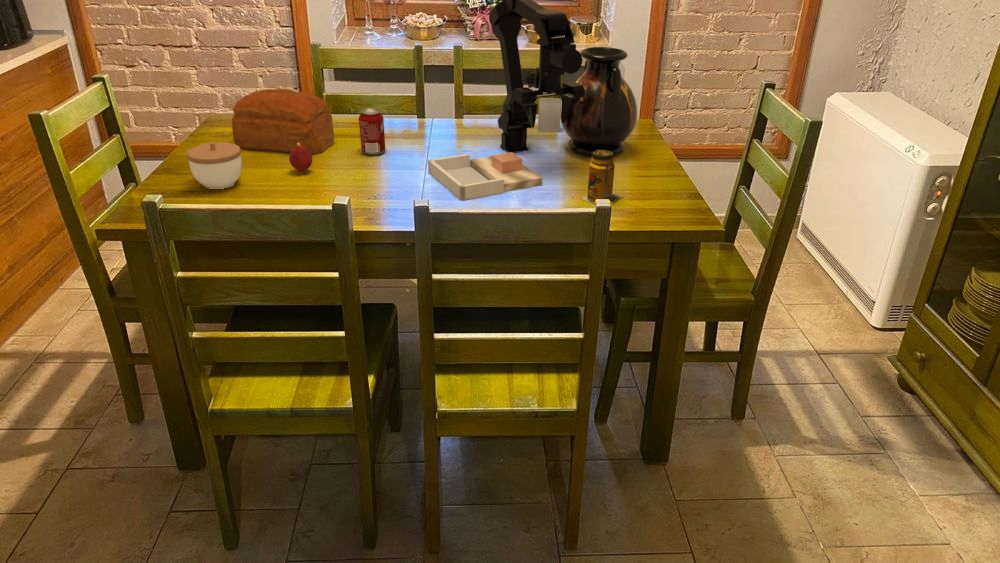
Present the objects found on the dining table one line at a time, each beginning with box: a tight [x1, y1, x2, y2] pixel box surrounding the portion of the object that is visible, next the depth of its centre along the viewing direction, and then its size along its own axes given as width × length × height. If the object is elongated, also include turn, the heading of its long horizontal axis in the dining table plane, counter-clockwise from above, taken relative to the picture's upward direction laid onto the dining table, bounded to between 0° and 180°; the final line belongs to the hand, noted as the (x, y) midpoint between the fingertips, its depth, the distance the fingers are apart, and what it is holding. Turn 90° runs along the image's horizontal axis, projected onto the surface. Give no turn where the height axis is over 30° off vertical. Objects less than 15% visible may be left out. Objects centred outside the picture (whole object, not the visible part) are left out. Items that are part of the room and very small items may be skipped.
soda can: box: [358, 107, 386, 156], centre depth 206 cm, size 7×7×12 cm
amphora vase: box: [561, 46, 638, 158], centre depth 207 cm, size 22×22×28 cm
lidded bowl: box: [186, 141, 243, 190], centre depth 183 cm, size 13×13×11 cm
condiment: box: [580, 150, 624, 204], centre depth 179 cm, size 7×8×12 cm
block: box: [491, 152, 524, 173], centre depth 193 cm, size 6×6×3 cm
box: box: [427, 153, 505, 201], centre depth 189 cm, size 12×21×4 cm, turn 27°
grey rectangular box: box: [537, 97, 562, 133], centre depth 227 cm, size 4×7×10 cm, turn 87°
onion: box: [289, 143, 313, 173], centre depth 193 cm, size 6×6×8 cm
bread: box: [231, 88, 335, 155], centre depth 210 cm, size 16×27×16 cm, turn 77°
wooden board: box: [470, 155, 543, 193], centre depth 194 cm, size 11×20×2 cm, turn 27°
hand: (547, 125), depth 194 cm, fingers open, 9 cm apart
